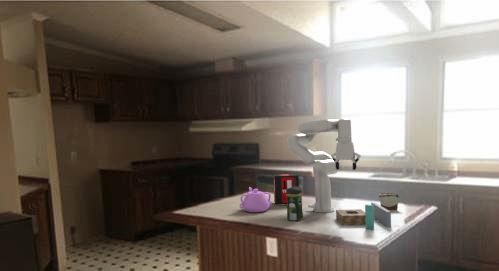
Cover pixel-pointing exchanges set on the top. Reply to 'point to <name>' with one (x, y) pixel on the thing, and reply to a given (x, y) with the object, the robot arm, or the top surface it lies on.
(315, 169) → the robot arm
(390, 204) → the food container
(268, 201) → the teapot
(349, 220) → the socket block
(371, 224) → the dowel
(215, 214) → the top surface
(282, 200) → the cleaning product box
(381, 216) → the backstop wall
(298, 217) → the coffee jar
